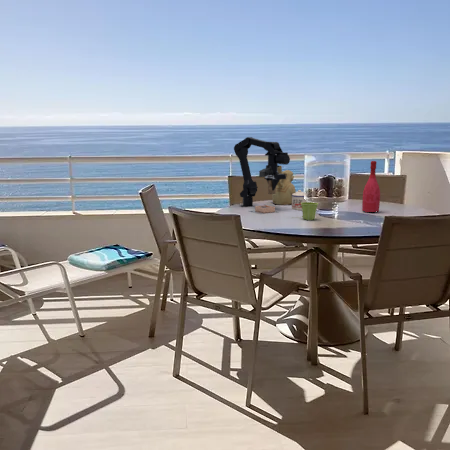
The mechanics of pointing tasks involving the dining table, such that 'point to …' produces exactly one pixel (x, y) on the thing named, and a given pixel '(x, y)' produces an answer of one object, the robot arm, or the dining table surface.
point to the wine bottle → (371, 192)
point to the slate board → (261, 213)
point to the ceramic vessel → (284, 188)
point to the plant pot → (309, 210)
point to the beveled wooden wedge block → (271, 188)
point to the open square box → (265, 209)
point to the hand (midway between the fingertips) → (272, 190)
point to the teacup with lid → (297, 200)
